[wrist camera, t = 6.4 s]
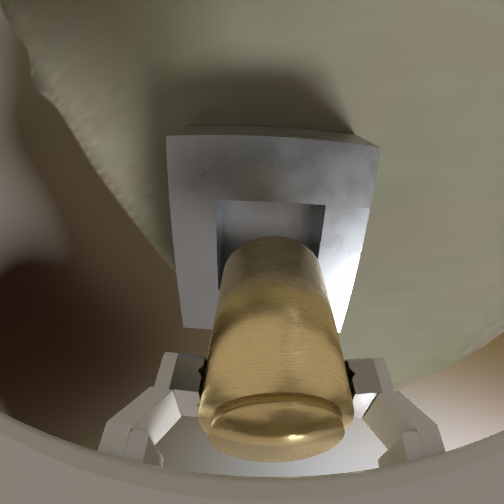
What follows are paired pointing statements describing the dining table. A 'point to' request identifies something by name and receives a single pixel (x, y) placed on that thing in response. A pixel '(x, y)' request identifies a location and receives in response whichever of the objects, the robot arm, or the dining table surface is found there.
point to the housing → (265, 204)
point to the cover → (274, 358)
